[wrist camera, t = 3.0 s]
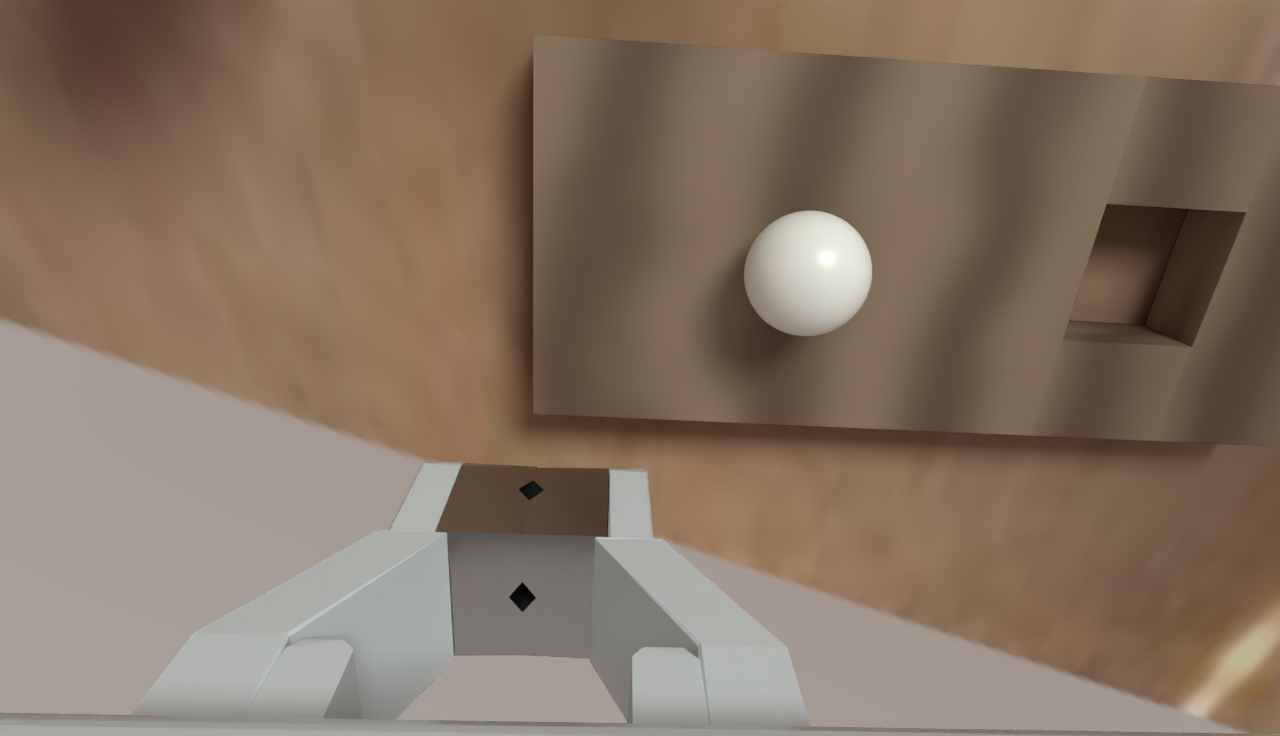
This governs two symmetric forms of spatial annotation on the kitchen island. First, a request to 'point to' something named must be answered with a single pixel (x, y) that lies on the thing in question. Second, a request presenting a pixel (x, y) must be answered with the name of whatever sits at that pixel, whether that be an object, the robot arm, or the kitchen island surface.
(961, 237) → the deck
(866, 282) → the ball
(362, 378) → the kitchen island surface
